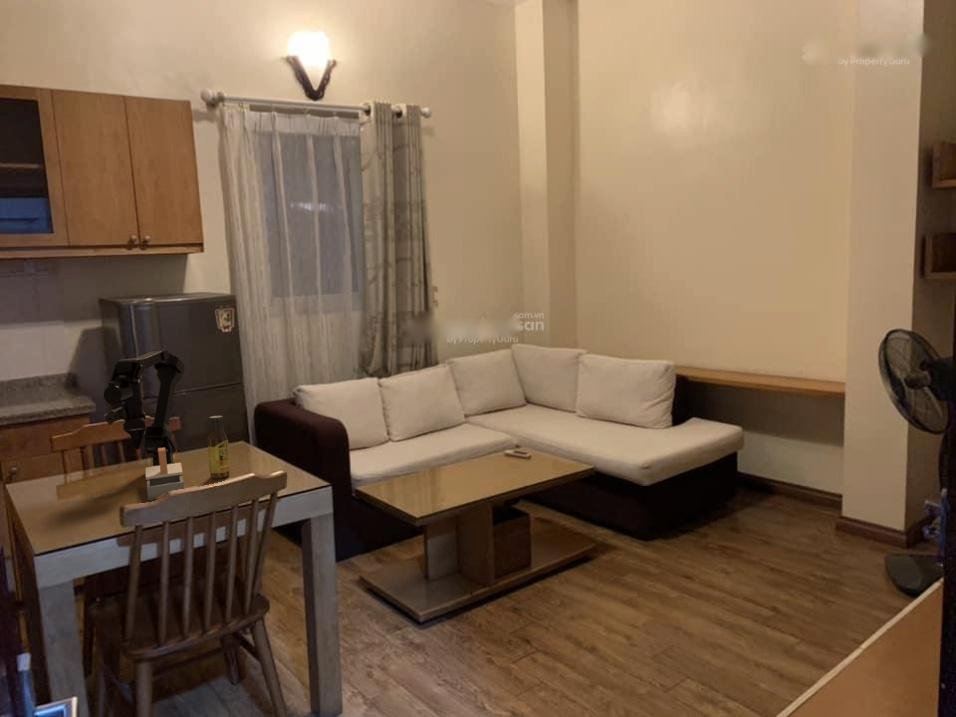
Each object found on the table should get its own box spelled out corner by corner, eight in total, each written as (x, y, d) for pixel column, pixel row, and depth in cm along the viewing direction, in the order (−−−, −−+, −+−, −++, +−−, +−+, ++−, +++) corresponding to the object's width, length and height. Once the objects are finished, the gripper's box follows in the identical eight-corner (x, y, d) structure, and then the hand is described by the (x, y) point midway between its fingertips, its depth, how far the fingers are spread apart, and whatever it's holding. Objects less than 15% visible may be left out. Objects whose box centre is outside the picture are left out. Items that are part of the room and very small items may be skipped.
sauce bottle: (223, 479, 230) (218, 419, 228) (206, 479, 232) (200, 419, 229) (234, 473, 237) (229, 414, 234) (217, 473, 238) (212, 414, 235)
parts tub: (148, 489, 222) (146, 477, 222) (182, 484, 227) (181, 472, 226) (148, 500, 212) (146, 487, 211) (184, 494, 216) (183, 482, 215)
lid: (146, 469, 230) (143, 444, 229) (180, 464, 234) (178, 440, 233) (146, 479, 218) (143, 453, 217) (182, 474, 223) (180, 448, 222)
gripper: (105, 396, 232) (110, 443, 234) (102, 406, 216) (108, 456, 218) (143, 393, 237) (147, 439, 239) (143, 401, 220) (148, 451, 222)
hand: (137, 446), depth 229 cm, fingers open, 9 cm apart
